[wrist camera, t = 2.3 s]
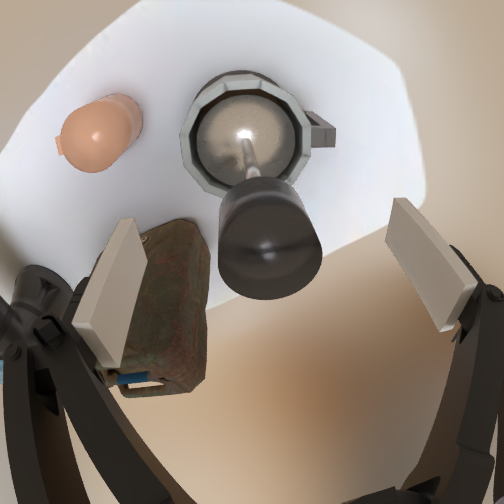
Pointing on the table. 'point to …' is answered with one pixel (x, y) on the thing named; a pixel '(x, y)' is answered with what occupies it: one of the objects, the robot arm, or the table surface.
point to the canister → (167, 316)
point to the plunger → (258, 199)
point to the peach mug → (100, 132)
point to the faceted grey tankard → (247, 82)
